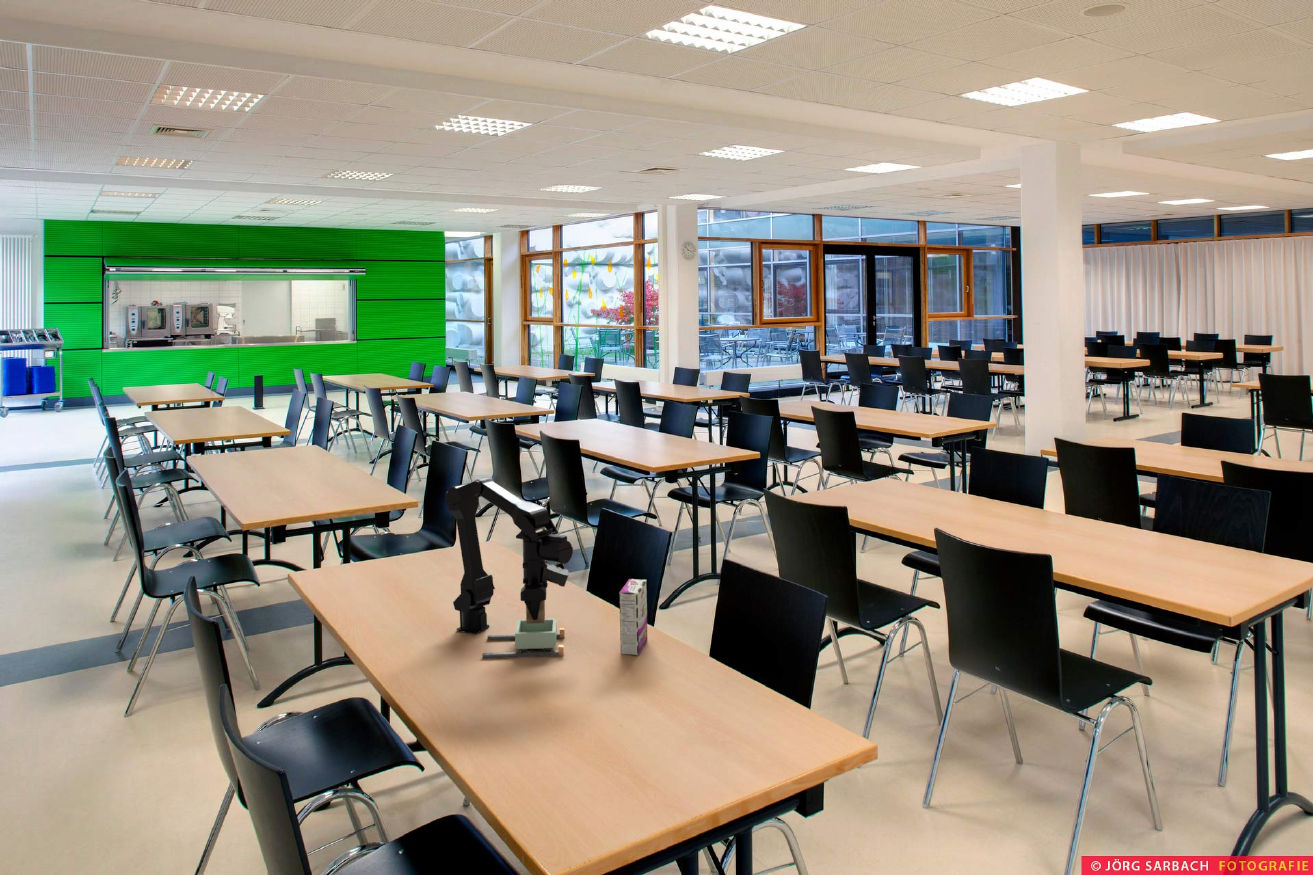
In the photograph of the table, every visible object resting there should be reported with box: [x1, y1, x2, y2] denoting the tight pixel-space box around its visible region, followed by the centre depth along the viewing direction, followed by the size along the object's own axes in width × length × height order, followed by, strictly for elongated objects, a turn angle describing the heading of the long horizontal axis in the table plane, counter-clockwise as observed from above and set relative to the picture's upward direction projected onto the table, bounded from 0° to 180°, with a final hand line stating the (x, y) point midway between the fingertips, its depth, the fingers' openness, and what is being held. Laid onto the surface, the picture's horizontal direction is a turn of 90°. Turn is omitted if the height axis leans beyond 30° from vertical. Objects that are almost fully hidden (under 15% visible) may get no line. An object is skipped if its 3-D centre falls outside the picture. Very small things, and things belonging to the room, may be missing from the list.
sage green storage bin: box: [514, 618, 558, 652], centre depth 228 cm, size 10×10×5 cm
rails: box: [481, 627, 566, 660], centre depth 228 cm, size 20×13×2 cm, turn 95°
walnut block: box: [525, 600, 546, 624], centre depth 227 cm, size 4×4×6 cm
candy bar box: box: [618, 578, 648, 656], centre depth 227 cm, size 11×5×16 cm, turn 168°
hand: (535, 616), depth 227 cm, fingers closed on walnut block, 4 cm apart
